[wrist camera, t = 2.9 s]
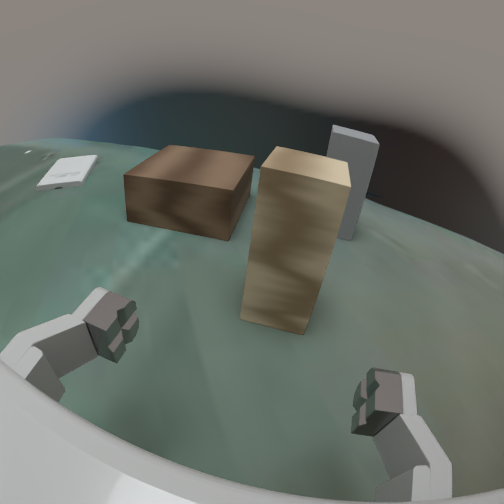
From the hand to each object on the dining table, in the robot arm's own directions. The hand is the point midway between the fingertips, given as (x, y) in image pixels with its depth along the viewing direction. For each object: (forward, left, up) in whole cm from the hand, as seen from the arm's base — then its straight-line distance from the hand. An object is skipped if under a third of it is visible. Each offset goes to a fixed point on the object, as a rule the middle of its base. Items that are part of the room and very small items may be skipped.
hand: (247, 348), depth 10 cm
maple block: (0, -12, -9) cm, 15 cm away
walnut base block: (+13, -25, -10) cm, 30 cm away
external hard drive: (+38, -28, -10) cm, 48 cm away
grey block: (-4, -28, -9) cm, 30 cm away
